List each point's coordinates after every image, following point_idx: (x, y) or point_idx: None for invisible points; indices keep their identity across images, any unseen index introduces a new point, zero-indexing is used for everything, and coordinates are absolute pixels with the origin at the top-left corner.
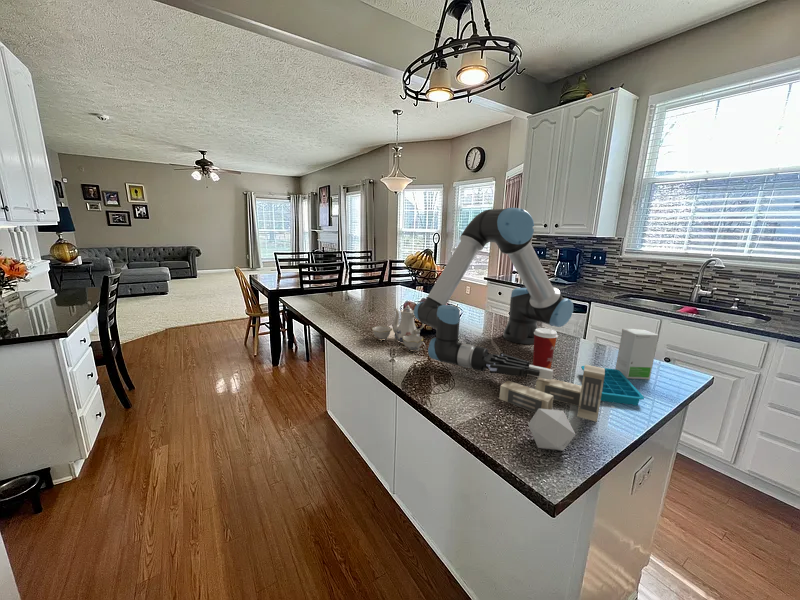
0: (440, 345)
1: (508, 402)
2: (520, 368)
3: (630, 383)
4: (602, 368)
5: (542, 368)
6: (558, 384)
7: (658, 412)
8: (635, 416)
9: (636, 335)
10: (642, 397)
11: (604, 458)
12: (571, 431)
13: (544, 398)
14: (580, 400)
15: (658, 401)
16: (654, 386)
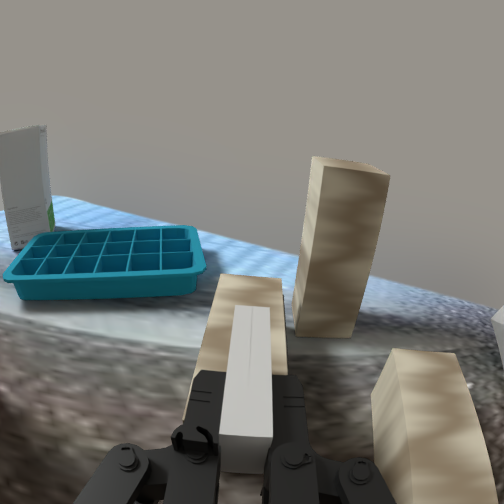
0: None
1: None
2: (375, 487)
3: (113, 229)
4: (318, 157)
5: (256, 349)
6: None
7: (205, 236)
8: (249, 258)
9: (40, 128)
10: (188, 226)
11: (457, 301)
12: None
13: (445, 365)
14: (364, 287)
15: None
16: (85, 225)
